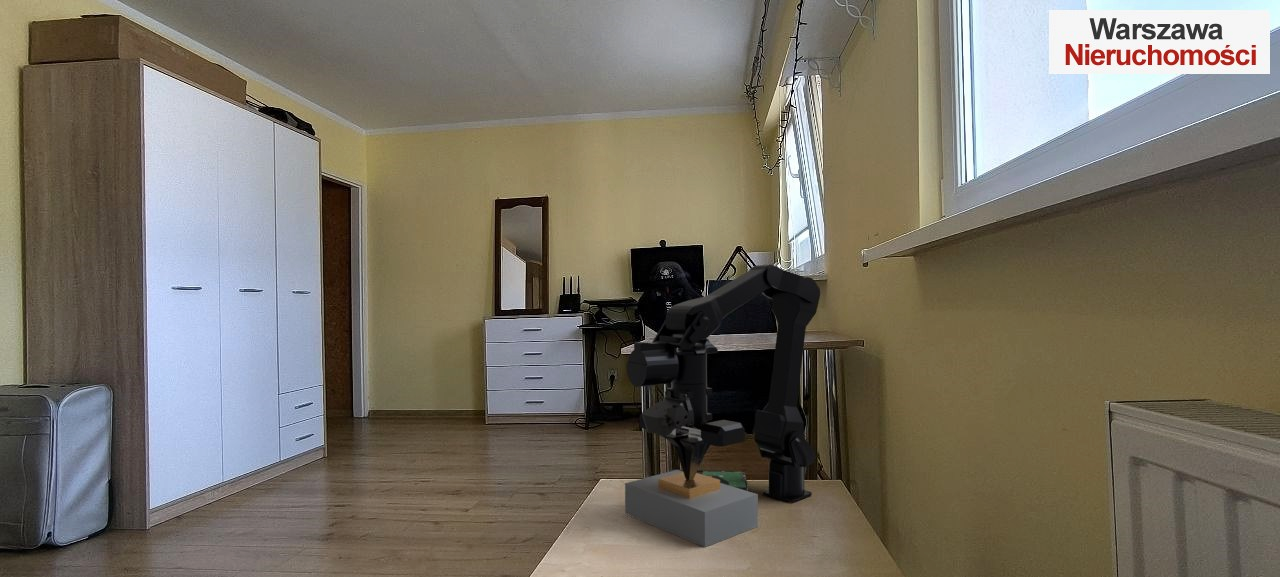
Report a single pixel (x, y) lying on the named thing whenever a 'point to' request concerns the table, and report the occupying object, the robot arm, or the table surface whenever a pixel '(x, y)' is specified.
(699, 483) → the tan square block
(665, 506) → the gray rectangular block
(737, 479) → the disk drive
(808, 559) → the table surface
